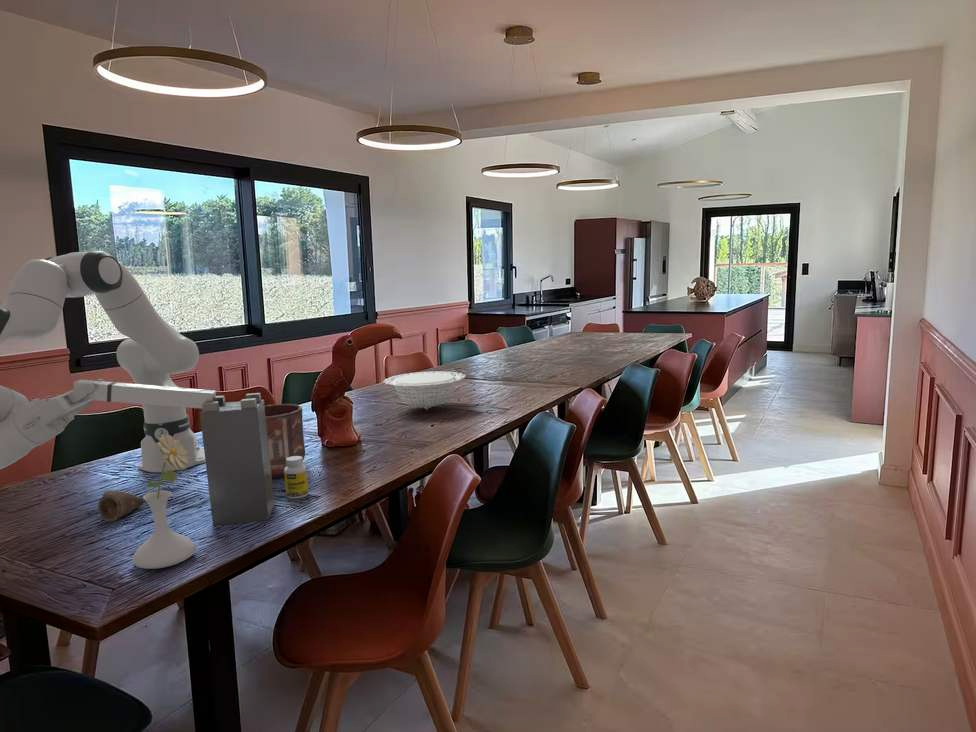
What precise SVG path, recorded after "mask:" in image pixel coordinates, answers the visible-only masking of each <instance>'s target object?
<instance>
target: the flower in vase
mask: <svg viewBox="0 0 976 732" xmlns="http://www.w3.org/2000/svg"><path fill="white" fill-rule="evenodd" d="M159 441H160V442H158V446H159V447H158V449H159V451H160V455H161V456H163V461H164V464H163V467H162V472H160V473H161V474H160V478H159V482H155V481H151V480H148V481H147V485H146V487H147V488H157V490H156V491H152V492H149V493H145V495H143V496H142V500H143V501H145V502H146V503H147V504H148V506H149V508H150V510H151V513H152V517H153V521H154V522H153V523H154V530H153V533H152V534H151V535H150V537H148V539H147V540H145V541H144V542H143V544H141V546H139V547H138V548H137V549H136V550H135V553H134V554H133V556H132V559H131V560H132V563H133V565H134V566H135V567H137V568H141V569H146V570H147V569H149V570H153V569H155V570H157V569H163V568H167V567H171V566H174V565H177V564H180V563H181V562H184V561H185V560H187V559H189V558H190V557H192V556H193V554H194V553H195V552H196V549H197V546H196V544H195V543H194V541H193V540H192V539H190V538H189V537H187V536H185V535H182V534H181V533H178V532H175V531H173V530H172V529H171V528H170V527H169V524H168V520H167V507H168V506H167V505H168V500H169V498H170V496H171V495H172V492H171V491H170V490H161V486H162V484H163V482H162V481H163V480H165V481H166V482H168V483H173V482H175V480H177V478H178V474H177V473H176V472H175V471H171V470H166V471H165V472H163V471H164V467H165V464H166V463H167V464H168V465H170V466H171V468H172V469H174V468H176V469H177V470H176V471H178V470H179V468H180V470H186V469H187V468H186V467H185V465H184V463H186V464H188V463H189V462H188V457H186V456H185V455H187V451H186V450H184V448H183V446H181V445H180V442H179V441H178V440H176V441H175V440H174V439H173V438H172V436H169V435H168V434H167V435H166V436H165V437H164V436H163V435H161V438H159ZM180 470H179V471H180Z"/></svg>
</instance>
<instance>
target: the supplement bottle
mask: <svg viewBox="0 0 976 732" xmlns="http://www.w3.org/2000/svg"><path fill="white" fill-rule="evenodd" d="M303 462H304V460H303V458H302V457H301V456H292V457H288V458H286V465H287V467H286V468H285V469H284V476H285V477H284V484H285V496H286V498H287V499H290V500H297V499H302V498H305V497H307V496H308V495H309V484H308V483H309V482H308V471H307V467H306V465H305V464H304V463H303Z"/></svg>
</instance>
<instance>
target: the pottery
mask: <svg viewBox="0 0 976 732" xmlns="http://www.w3.org/2000/svg"><path fill="white" fill-rule="evenodd" d="M264 407H265V417H266V427H267V437H268V447H269V457H270V466H271V476H272V479H279V478H285V476H284V469H285V468H286V467H287V465H286V458H288V457H292V456H301V457H302V458H303V461H304V459H305V456H306V446H305V437H304V424H303V422H304V421H303V407H302V406H301V405H299V404H294V403H276V404H267V405H265V404H264Z"/></svg>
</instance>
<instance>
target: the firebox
mask: <svg viewBox="0 0 976 732" xmlns="http://www.w3.org/2000/svg"><path fill="white" fill-rule="evenodd" d="M264 406H265V399H262V394H261V392H254V393H246V394H245V398H243V399H241V400H240V401H228V402H226V398H225V395H216V399H215V402H204V403H203V404H202V410H201V411H200V412H199V416H200V426H201V434H202V435H201V436H202V440H203V441H202V442H203V448H204V453H205V468H206V477H207V486H208V495H209V502H210V511H211V512H210V513H211V520H212V527H218V526H217V525H220V526H226V524H229V525H235V523H238V524H243V523H244V524H245V522H246V523H254V522H253V521H255V522H263V521H262V520H264V521H269V520H270V517H271V514H272V513H273V510H274V507H275V499H274V498H275V497H274V488H273V480H272V476H271V466H270V457H269V447H268V437H267V427H266V417H265V407H264Z"/></svg>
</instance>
